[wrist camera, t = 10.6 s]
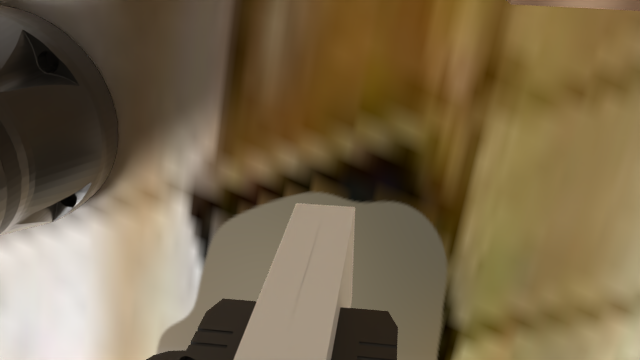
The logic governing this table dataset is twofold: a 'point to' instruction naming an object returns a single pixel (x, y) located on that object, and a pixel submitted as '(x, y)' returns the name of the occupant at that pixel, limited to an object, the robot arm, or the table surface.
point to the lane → (584, 3)
